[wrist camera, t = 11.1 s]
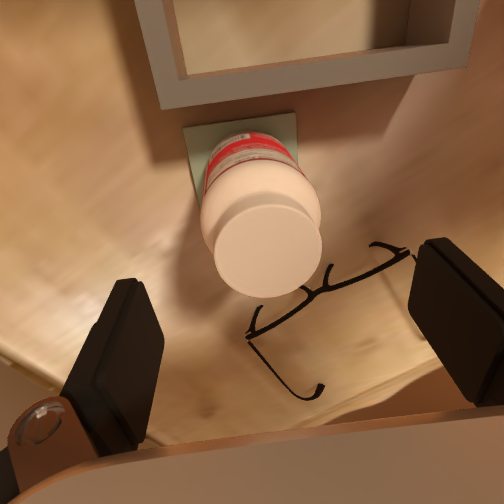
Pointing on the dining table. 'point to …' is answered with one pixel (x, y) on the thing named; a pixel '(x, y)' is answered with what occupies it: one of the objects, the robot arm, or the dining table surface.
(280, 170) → the pill bottle
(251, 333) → the eyeglasses
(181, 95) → the case
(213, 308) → the dining table surface
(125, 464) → the robot arm
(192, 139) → the mat
